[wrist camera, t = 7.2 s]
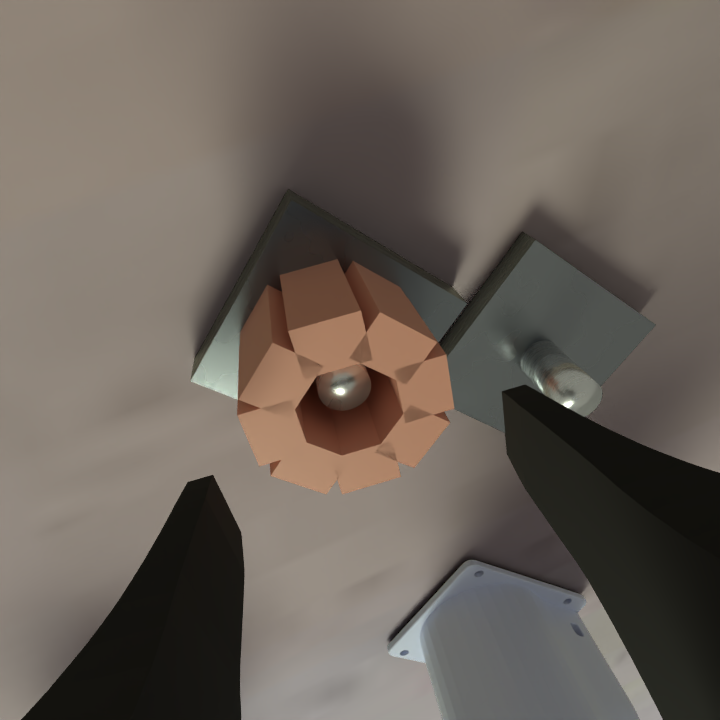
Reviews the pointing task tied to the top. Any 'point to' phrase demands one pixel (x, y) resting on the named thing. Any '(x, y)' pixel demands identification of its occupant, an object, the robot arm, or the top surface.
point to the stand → (538, 335)
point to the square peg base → (305, 249)
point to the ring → (333, 352)
